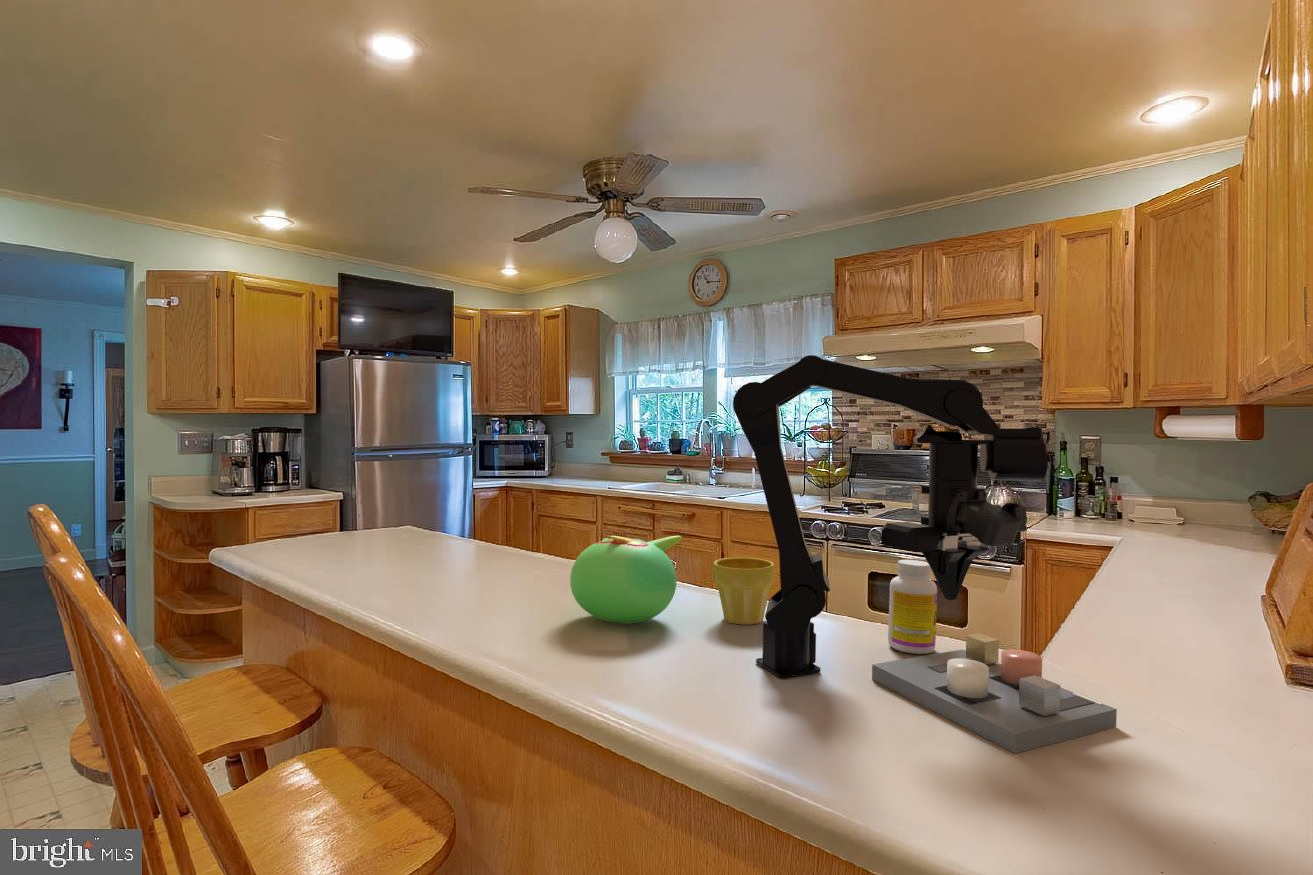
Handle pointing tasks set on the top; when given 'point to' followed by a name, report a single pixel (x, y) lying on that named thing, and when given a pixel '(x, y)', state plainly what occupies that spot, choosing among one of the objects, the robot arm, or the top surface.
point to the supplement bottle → (912, 608)
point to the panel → (993, 704)
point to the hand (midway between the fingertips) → (950, 599)
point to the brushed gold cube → (982, 648)
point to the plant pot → (743, 588)
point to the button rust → (1019, 665)
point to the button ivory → (967, 678)
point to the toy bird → (625, 578)
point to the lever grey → (1039, 695)
